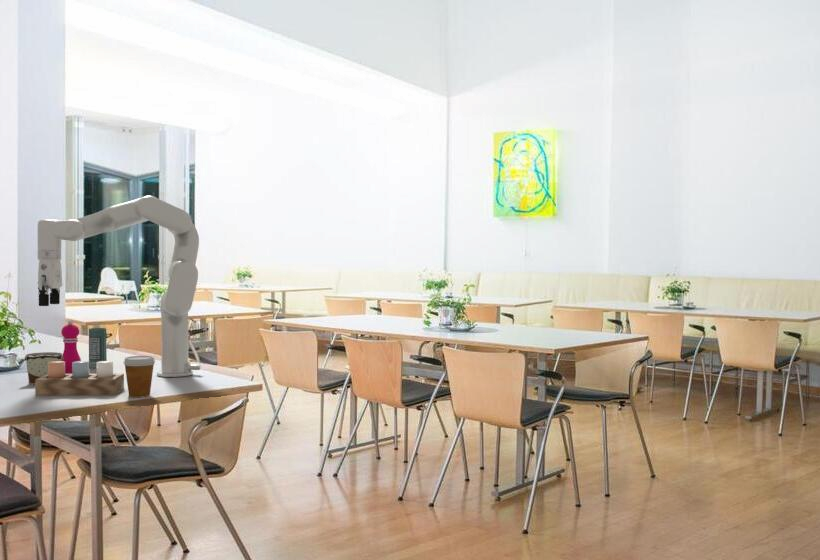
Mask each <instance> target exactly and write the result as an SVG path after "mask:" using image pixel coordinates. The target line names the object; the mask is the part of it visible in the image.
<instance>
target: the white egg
mask: <svg viewBox="0 0 820 560" xmlns="http://www.w3.org/2000/svg"><path fill="white" fill-rule="evenodd" d="M95 374H97V378H112V377H113V374H114V361H111V360H107V361H100V362H96V373H95Z"/></svg>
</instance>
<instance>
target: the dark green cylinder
mask: <svg viewBox="0 0 820 560" xmlns="http://www.w3.org/2000/svg"><path fill="white" fill-rule="evenodd" d="M107 351H108V350H107V328H106V327H92V328H88V362H89V369H96V362H100V361H108V360H107V355H108V353H107Z"/></svg>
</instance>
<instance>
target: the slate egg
mask: <svg viewBox="0 0 820 560" xmlns="http://www.w3.org/2000/svg"><path fill="white" fill-rule="evenodd" d="M89 374H90V368H89V360H88V361H87V360H81V361H76V362H72V378H88V377H89Z"/></svg>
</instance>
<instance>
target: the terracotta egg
mask: <svg viewBox="0 0 820 560" xmlns="http://www.w3.org/2000/svg"><path fill="white" fill-rule="evenodd" d="M64 377H65V362H64V361H53V362H48V378H64Z"/></svg>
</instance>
